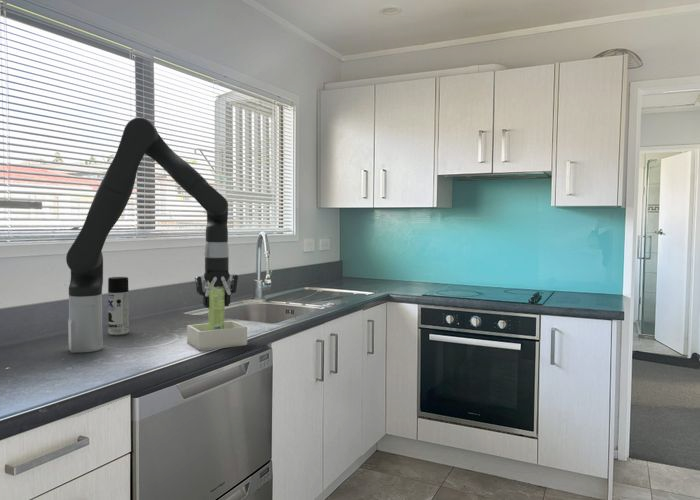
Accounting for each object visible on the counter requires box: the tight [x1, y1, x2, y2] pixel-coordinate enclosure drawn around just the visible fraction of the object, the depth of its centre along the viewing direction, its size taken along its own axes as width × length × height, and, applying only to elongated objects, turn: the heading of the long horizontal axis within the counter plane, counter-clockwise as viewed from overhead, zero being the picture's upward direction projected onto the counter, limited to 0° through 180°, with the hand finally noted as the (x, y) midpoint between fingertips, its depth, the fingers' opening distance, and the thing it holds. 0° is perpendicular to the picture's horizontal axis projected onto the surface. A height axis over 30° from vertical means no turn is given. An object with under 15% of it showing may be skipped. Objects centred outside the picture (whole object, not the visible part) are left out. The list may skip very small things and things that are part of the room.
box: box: [186, 320, 248, 352], centre depth 174 cm, size 16×12×6 cm
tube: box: [206, 281, 226, 330], centre depth 174 cm, size 6×5×20 cm
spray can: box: [107, 276, 130, 336], centre depth 188 cm, size 7×7×20 cm
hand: (216, 306), depth 174 cm, fingers closed on tube, 6 cm apart
